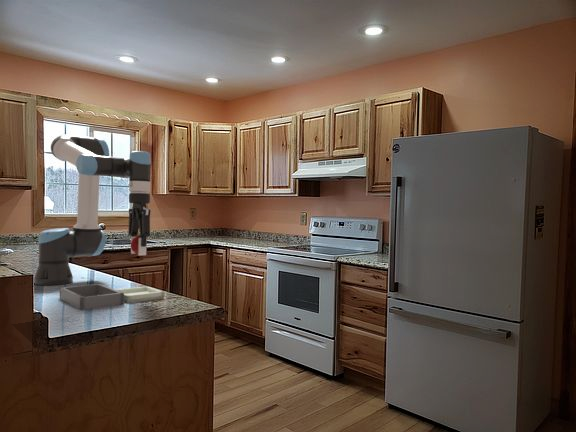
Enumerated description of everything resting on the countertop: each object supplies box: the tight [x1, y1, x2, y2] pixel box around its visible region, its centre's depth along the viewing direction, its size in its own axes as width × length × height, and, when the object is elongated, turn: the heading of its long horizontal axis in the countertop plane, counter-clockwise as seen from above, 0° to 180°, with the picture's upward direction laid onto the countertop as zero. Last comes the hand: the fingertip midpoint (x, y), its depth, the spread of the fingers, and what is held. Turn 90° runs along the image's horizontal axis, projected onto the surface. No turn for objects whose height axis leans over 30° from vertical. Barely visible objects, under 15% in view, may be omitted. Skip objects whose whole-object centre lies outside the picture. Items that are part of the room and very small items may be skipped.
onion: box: [130, 233, 148, 256], centre depth 168 cm, size 6×6×8 cm
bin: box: [59, 283, 125, 311], centre depth 159 cm, size 22×14×4 cm, turn 43°
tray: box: [116, 285, 165, 304], centre depth 168 cm, size 14×14×2 cm
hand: (138, 254), depth 168 cm, fingers closed on onion, 6 cm apart
